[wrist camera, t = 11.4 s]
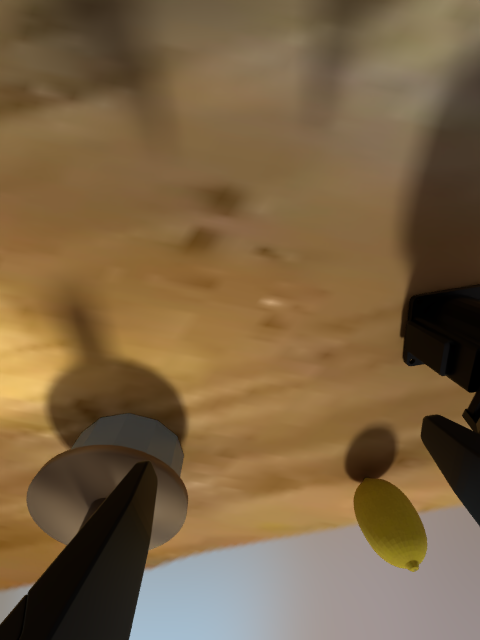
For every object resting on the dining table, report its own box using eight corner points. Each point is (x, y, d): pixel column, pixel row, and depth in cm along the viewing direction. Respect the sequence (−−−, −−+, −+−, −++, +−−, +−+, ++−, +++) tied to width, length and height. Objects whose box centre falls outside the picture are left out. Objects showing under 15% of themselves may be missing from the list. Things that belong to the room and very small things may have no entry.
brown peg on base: (75, 419, 18) (-177, 747, 7) (217, 486, 21) (205, 783, 10) (10, 513, 21) (-231, 839, 10) (141, 559, 24) (69, 843, 13)
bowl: (167, 407, 23) (154, 447, 19) (191, 480, 27) (185, 527, 23) (62, 423, 24) (26, 467, 19) (100, 494, 27) (77, 543, 23)
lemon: (358, 501, 30) (401, 595, 22) (332, 478, 28) (369, 571, 21) (399, 478, 29) (459, 569, 21) (374, 453, 27) (430, 542, 20)
